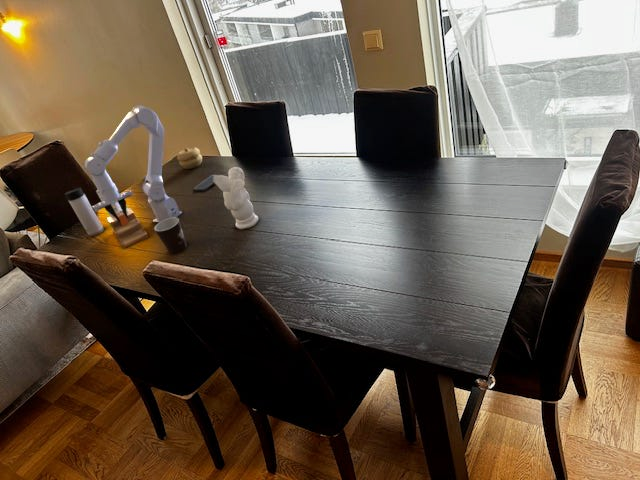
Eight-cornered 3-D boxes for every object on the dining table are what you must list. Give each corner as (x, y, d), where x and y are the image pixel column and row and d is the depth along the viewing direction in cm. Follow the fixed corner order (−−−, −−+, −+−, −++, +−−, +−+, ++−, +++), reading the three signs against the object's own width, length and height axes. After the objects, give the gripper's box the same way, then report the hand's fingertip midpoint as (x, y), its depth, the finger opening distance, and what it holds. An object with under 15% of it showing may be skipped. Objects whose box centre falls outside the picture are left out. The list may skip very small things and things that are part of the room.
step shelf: (148, 237, 171) (141, 222, 168) (124, 248, 167) (116, 234, 164) (137, 221, 186) (130, 207, 183) (114, 231, 182) (106, 217, 179)
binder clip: (129, 223, 172) (123, 212, 170) (122, 225, 171) (117, 215, 169) (126, 219, 176) (121, 209, 173) (120, 222, 175) (115, 211, 172)
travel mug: (89, 238, 182) (63, 195, 172) (88, 232, 188) (63, 190, 177) (104, 232, 184) (80, 189, 174) (103, 226, 189) (79, 184, 179)
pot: (178, 173, 225) (170, 154, 220) (187, 163, 234) (180, 145, 229) (199, 169, 222) (191, 151, 217) (207, 160, 231) (200, 141, 226)
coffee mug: (177, 257, 153) (165, 232, 147) (161, 253, 157) (149, 229, 152) (200, 238, 160) (190, 214, 155) (184, 235, 165) (174, 212, 160)
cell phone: (224, 176, 206) (224, 174, 206) (205, 190, 197) (204, 189, 196) (213, 175, 210) (212, 174, 209) (193, 190, 200) (192, 188, 200)
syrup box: (122, 218, 192) (106, 188, 184) (111, 220, 193) (95, 190, 186) (130, 212, 196) (114, 182, 189) (118, 213, 198) (103, 183, 190)
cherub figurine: (252, 213, 168) (233, 159, 156) (272, 220, 159) (254, 163, 148) (226, 229, 162) (204, 174, 150) (245, 237, 153) (224, 179, 142)
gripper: (88, 199, 160) (106, 231, 167) (127, 182, 165) (143, 214, 173) (85, 194, 166) (103, 225, 173) (124, 178, 171) (139, 209, 178)
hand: (123, 219), depth 173 cm, fingers closed on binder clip, 2 cm apart
